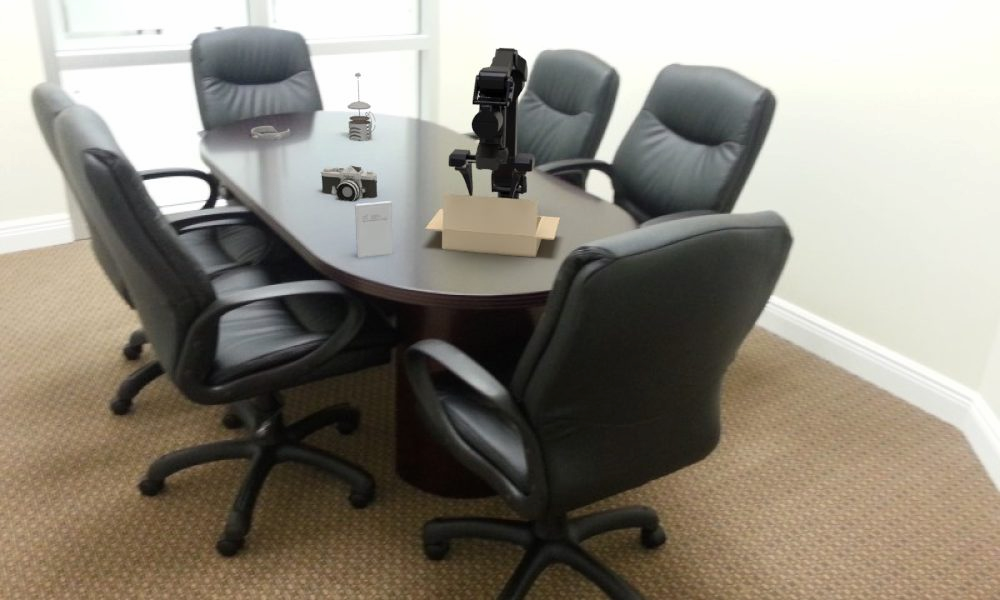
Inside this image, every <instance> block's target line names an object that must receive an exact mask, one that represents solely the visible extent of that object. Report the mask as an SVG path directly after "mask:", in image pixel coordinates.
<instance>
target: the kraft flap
mask: <svg viewBox="0 0 1000 600" xmlns="http://www.w3.org/2000/svg"><path fill="white" fill-rule="evenodd" d="M538 208H539V200H536V199H522V198H521V199H520V198H519V199H510V198H498V197H493V196H480V195H479V196H478V195H472V196H470V195H469V194H468V195H467V194H466V195H465V194H452V193H451V194H450V193H443V207H442V209H443V229H453V230H466V231H479V232H492V233H505V234H518V235H531V236H536V225H537V216H538Z"/></svg>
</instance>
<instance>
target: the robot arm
mask: <svg viewBox="0 0 1000 600" xmlns="http://www.w3.org/2000/svg"><path fill="white" fill-rule="evenodd" d="M528 71H529V69H528V62H527V60H526V59H525V58H524V57H523V56H521V55H520V54H519V52H518V49H516V48H515V47H513V48H512V47H499V48H495V53H494V57H492V59H491V63H490V65H489V66H487V67H482V68H481V69H480V70H479V71H478V74H476V75H475V81H474V85H473V86H474V88H473V95H472V101H471V102H472V104H471V105H473V106H474V105H475V106H477V105H478V107H479V108H478V112H477V113H476V114H475V115H474V116H473V118H472V121H471V129H472V132H473V134H475V135H476V136H477V137H478V138H479V139H478V140H479V141H478V143H477V147H476V152H475V154H471V150H470V149H460V148H459V149H457V148H455V149H454V150H453V151H452V152H451V153H450V154H449V155H448V167H451V168H452V167H453V168H454V171H458V172H459V173H460V174H461V177H462V178H463V180H464V182H465V183H464V184H465V185H466V189H467V192H468V196H474V195H473V194H474V185H473V184H474V182H473V164H475V169H477V170H479V171H480V170H481V171H482V170H489V171H491V174H490V183H491V184H490V185H491V193H497V198H510V199H520V195H524V194H526V193H527V192H528V178H527V176H526V175H527V173H529V172H530V173H531V172H533V170H534V167H535V164H536V163H535V162H536V158H535V156H534V154H533V153H523V152H522V153H520V152H518V148H517V147H518V122H519V121H518V116H519V96H520V95H521V93H522V92H523V90H524V88H525V87H526V86H525V85H526V83H527V82H528V76H529V75H528V74H529V72H528Z"/></svg>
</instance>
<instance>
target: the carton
mask: <svg viewBox="0 0 1000 600" xmlns="http://www.w3.org/2000/svg"><path fill="white" fill-rule="evenodd" d="M560 220H561V217H559V216H558V217H555V216H543V215H537V225H536V236H531V235H518V234H505V233H492V232H479V231H466V230H453V229H443V208H440V209H438V211H437V212H436V213H435V214H434V216H433V218H432V219H431V220H430V222H429V223H428V224H427V226H426V227H425V231H434V232H441V249H442V250H443V249H444V251H453V250H457V251H456V252H464V251H467V252H466V253H474V252H477V253H478V254H485V253H488V254H487V255H501V256H514V257H524V258H537V255H538V251H539V248H540V245H541V242H542V240H548V241H550V240H552V241H554V240H555V238H556V234H557V231H558V228H559V223H560Z"/></svg>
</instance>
